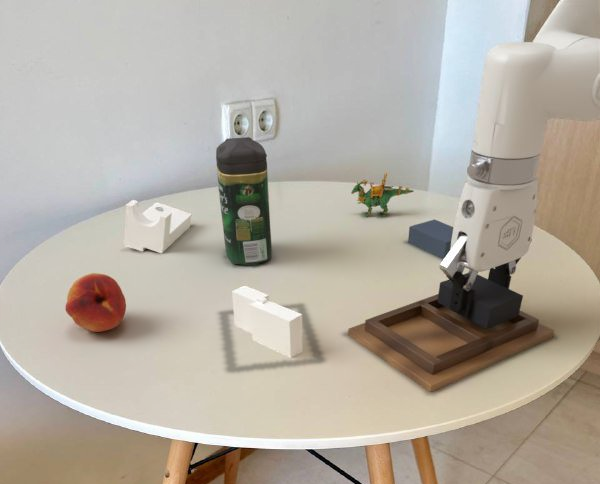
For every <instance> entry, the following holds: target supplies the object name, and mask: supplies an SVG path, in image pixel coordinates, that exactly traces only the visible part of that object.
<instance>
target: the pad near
mask: <svg viewBox="0 0 600 484" xmlns="http://www.w3.org/2000/svg"><path fill="white" fill-rule="evenodd" d="M462 274H463V275H464V276H465V277H467V275H468V272H466V273H462ZM452 289H453V284H452V283H450V280H449V279H446V280H443V281H441V282H439V288H438V293H437V294H438V303H440V304H441V305H443V306H445V307H447V308H449V309H450V303H451V296H452ZM472 289H474V290H475V293H474V299H473V304H472V309H471V315H470V317H468V318H467V319H469V320H471V321H473V322H475V323H477V324H478V325H480V326H482V327H484V328H486V329H488V328H491V327H493V326H496V325H498V324H500V323H503V322H505V321H508V320H510V319H512V318H515V317H517V316H519V312H520V310H521V307H522V302H523V298H524V295H523V294H521V293H519V292H516V291H515V290H512V289H510V288H509V289H508V288H506V287H503V286H501V285H499V284H497V283H495V282H493V281H490V280H488V278H486V277H485V276H482V275H480V274H479V273H478V274H477V276H476V279H475V281H474V284H473V286H472Z"/></svg>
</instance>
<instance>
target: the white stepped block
mask: <svg viewBox="0 0 600 484" xmlns="http://www.w3.org/2000/svg"><path fill="white" fill-rule="evenodd" d="M231 299H232V308H233V309H232V310H233V320H234V327H236V328H238V329H241V330H243V331H245V332H247V333H249V334H251V339H252V341H253V342H254V343H256V344H257V343H258V344H260V345H261V346H264V347H265V348H269V349H270V350H272V351H274V352H277V353H279V354H281V355H283V356H285V357H288V358H290V359H291V358H294V357H295V356H297V355H298V354H299V353H302V352H303V350H304V349H303V345H304V344H303V314H302V313H300V312H297V311H295V310H293V309H290V308H287V307H286V306H284V305H280V304H277V303H276V302H273V301H271V300H270V298H269V294H267V293H265V292H262V291H259V290H257V289H255V288H252V287H249V286H247V285H242V286H240V287H238V288H236V289H233V290H231ZM317 355H318V354H317V353H316V356H317Z"/></svg>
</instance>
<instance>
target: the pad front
mask: <svg viewBox="0 0 600 484" xmlns="http://www.w3.org/2000/svg"><path fill="white" fill-rule="evenodd" d="M453 228H454V226H452V225H449V224H447V223H444V222H442V221H440V220H437V219H431V220H427V221H424V222H421V223H417V224H413V225H410V226H409V227H408V238H407V243H408V244H410V245H412V246H414V247H417V248H418V249H421V250H422V251H424V252H427V253H429V254H431V255H433V256H435V257H438V258H440V259H441V260H444V258H445V257H446V255H447V254H448V252H449V251H450V250H451V240H452V234H453Z"/></svg>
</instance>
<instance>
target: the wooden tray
mask: <svg viewBox="0 0 600 484" xmlns="http://www.w3.org/2000/svg"><path fill="white" fill-rule="evenodd" d="M438 294H439V293H437V294H434V295H431V296H428V297H426V298H423V299H420V300H418V301H417V300H416V301H415V302H412V303H409V304H406V305H403V306H401V307H398V308H395V309H392V310H389V311H386V312H383V313H381V314H379V315H378V314H377V315H376V316H372V317H370V318H367V319H365V321H364V322H363V323H361V324H358V325H355V326H352V327H349V328H348V329H347V330H348V331H347V335H348V336H349V337H350V338H352V339H353V340H355V341H356V342H357V343H359V344H361V345H362V346H363V347H365V348H366V349H367V350H369V351H371V353H374V355H376V356H378V357H379V358H381V359H382V360H383V361H385V362H387V363H388V364H389V365H391V366H392V367H394V368H395V369H396V370H398V371H399V372H401V373H402V374H404V375H405V376H406V377H408V378H409V379H410V380H412V381H413V382H415V383H416V384H418V385H419V386H421V387H422V388H423V389H425V390H426V391H428V392H429V393H432V392H434V391H436V390H439V389H441V388H443V387H446V386H447V385H450V384H452V383H454V382H456V381H459V380H461V379H464V378H466V377H468V376H470V375H473V374H475V373H477V372H478V371H481V370H483V369H485V368H488V367H490V366H492V365H494V364H496V363H499V362H500V361H504V360H506V359H508V358H510V357H512V356H514V355H516V354H518V353H521V352H523V351H525V350H527V349H530V348H532V347H534V346H536V345H539V344H541V343H543V342H545V341H548V340H549V339H552V338H553V337H554V334H555V330H553V329H551V328H549V327H547V326H546V325H543V324H541V323H540V319H539V318H537V317H534V316H533V315H531V314H529V313H527V312H525V311H522V310H521V309H520V312H519V316H517V317H515V318H512V319H510V320H508V321H505V322H503V323H500V324H498V325H496V326H493V327H491V328H488V329H486V328H484V327H482V326H480V325H478V324H477V323H475V322H473V321H471V320H469V319H467V318H465V317H463V316H461V315H459V314H457V313H455V312H454V311H452V310H451V309H449V308H447V307H445V306H443V305H441V304H440V303H438Z"/></svg>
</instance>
